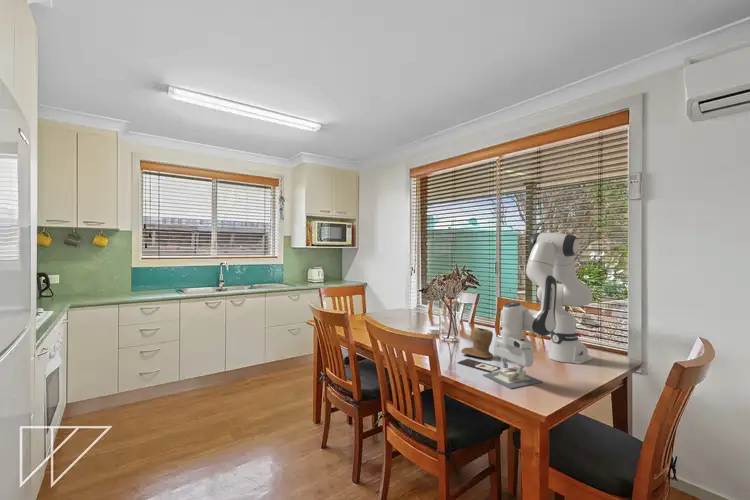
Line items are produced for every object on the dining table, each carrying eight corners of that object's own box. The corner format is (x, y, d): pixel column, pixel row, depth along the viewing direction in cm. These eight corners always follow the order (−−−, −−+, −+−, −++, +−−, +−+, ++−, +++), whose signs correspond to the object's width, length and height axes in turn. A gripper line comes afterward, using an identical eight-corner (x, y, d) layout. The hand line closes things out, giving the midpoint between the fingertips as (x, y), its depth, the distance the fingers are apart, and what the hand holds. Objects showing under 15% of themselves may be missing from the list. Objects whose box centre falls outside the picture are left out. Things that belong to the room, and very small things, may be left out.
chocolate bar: (467, 358, 187) (499, 367, 173) (467, 360, 187) (499, 369, 173) (457, 362, 181) (489, 371, 168) (457, 364, 181) (489, 373, 168)
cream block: (508, 381, 155) (508, 374, 155) (498, 376, 160) (498, 369, 160) (526, 378, 159) (526, 371, 159) (515, 373, 164) (515, 366, 164)
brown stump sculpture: (497, 356, 192) (497, 328, 192) (486, 361, 184) (486, 332, 184) (471, 350, 203) (471, 324, 203) (460, 355, 194) (460, 327, 194)
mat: (513, 370, 171) (513, 368, 171) (542, 382, 155) (542, 381, 155) (482, 375, 164) (482, 374, 164) (510, 389, 148) (510, 387, 148)
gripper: (490, 334, 168) (490, 364, 168) (524, 345, 149) (524, 379, 149) (500, 333, 170) (500, 362, 170) (535, 344, 151) (535, 377, 152)
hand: (512, 370), depth 160 cm, fingers open, 7 cm apart
